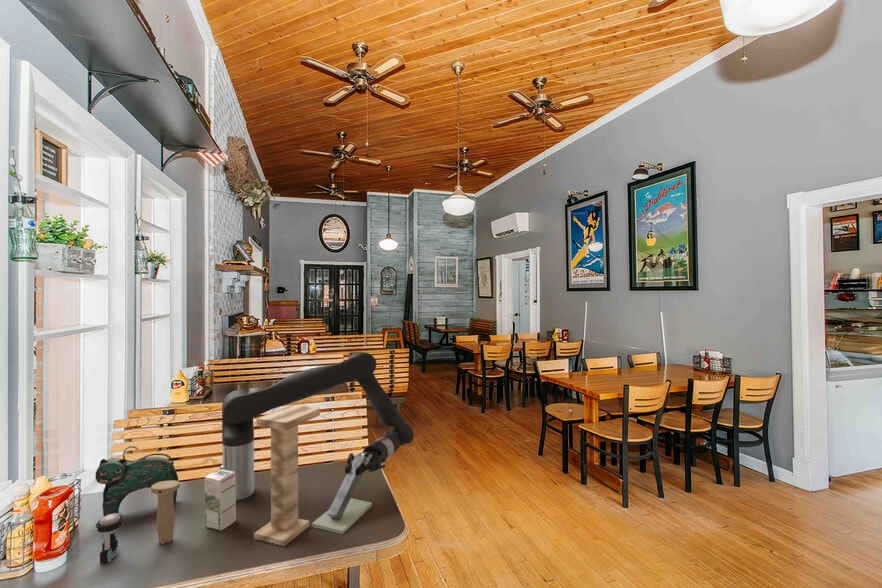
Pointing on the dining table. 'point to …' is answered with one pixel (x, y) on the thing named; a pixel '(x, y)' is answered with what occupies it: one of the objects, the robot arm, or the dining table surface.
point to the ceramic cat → (132, 477)
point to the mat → (343, 517)
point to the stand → (284, 473)
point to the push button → (109, 535)
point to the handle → (165, 509)
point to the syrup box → (220, 499)
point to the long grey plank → (346, 490)
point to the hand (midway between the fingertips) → (351, 471)
